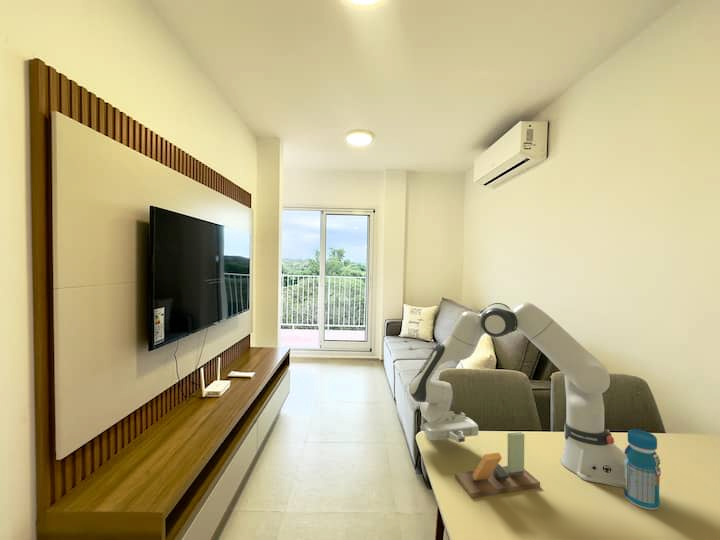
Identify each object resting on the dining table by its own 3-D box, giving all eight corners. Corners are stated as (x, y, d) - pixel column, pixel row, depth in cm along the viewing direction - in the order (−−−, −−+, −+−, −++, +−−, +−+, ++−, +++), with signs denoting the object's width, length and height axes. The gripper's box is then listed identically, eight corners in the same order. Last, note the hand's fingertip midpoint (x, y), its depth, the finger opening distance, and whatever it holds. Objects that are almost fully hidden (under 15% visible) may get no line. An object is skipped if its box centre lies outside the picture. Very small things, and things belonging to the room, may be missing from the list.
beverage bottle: (636, 510, 97) (636, 440, 97) (617, 490, 106) (617, 426, 105) (668, 512, 96) (669, 442, 96) (646, 492, 105) (646, 428, 105)
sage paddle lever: (521, 471, 113) (521, 431, 112) (524, 474, 111) (524, 434, 111) (507, 473, 111) (507, 433, 111) (510, 476, 110) (510, 435, 110)
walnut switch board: (518, 468, 117) (518, 464, 117) (540, 487, 107) (540, 482, 107) (455, 477, 112) (455, 473, 112) (471, 497, 102) (471, 493, 102)
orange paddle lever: (485, 474, 110) (499, 452, 103) (487, 480, 109) (502, 457, 102) (470, 477, 109) (483, 454, 102) (473, 482, 108) (486, 460, 100)
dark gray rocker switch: (498, 469, 113) (499, 464, 113) (508, 481, 108) (509, 475, 108) (490, 471, 112) (490, 465, 112) (499, 483, 107) (500, 476, 107)
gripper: (418, 416, 131) (434, 434, 117) (466, 412, 135) (487, 428, 122) (418, 432, 131) (433, 452, 117) (466, 427, 135) (486, 445, 122)
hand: (461, 440), depth 120 cm, fingers closed
